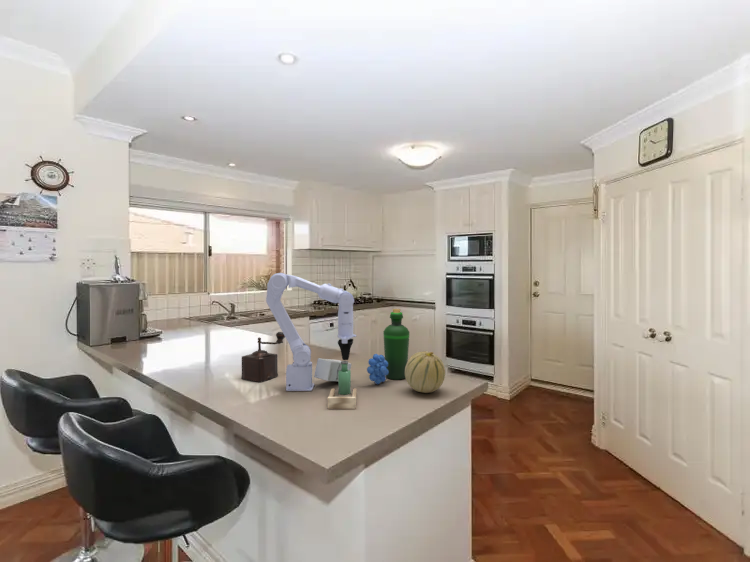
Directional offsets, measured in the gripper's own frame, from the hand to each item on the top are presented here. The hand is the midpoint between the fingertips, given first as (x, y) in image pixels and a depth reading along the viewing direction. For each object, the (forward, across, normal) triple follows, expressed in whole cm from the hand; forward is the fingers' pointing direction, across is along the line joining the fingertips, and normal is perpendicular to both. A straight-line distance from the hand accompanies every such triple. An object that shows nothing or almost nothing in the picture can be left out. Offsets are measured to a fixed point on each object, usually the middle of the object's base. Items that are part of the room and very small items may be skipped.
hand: (345, 359), depth 153 cm
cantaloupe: (+11, -7, -29) cm, 32 cm away
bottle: (+11, +12, -20) cm, 26 cm away
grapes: (+11, +2, -13) cm, 17 cm away
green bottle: (+10, -8, 0) cm, 13 cm away
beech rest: (+10, -17, 0) cm, 20 cm away
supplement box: (+7, +9, +1) cm, 11 cm away
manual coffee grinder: (+11, +14, +34) cm, 38 cm away
